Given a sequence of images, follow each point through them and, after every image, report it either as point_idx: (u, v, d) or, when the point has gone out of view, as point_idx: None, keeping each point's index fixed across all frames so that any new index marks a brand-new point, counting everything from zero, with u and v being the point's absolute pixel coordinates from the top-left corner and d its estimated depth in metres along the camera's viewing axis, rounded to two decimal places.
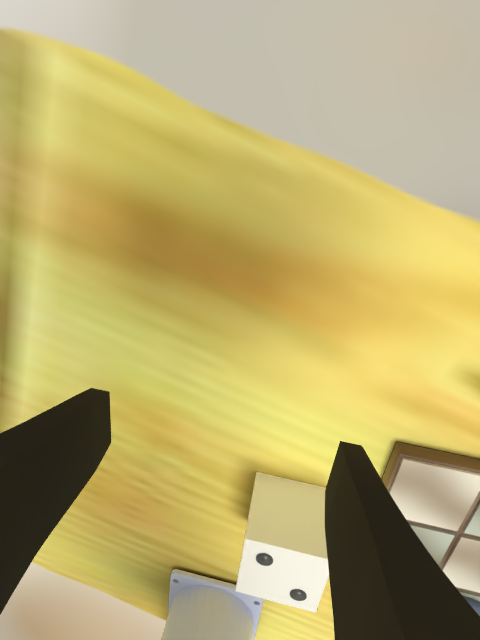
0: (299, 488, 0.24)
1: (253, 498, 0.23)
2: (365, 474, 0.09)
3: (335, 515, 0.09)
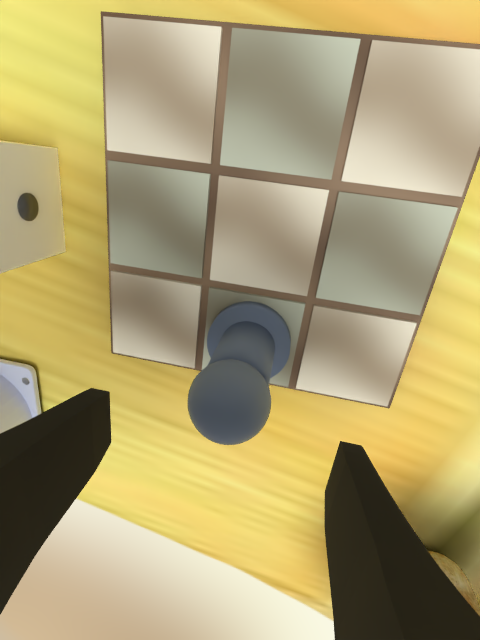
0: None
1: None
2: (365, 474, 0.09)
3: (335, 515, 0.09)
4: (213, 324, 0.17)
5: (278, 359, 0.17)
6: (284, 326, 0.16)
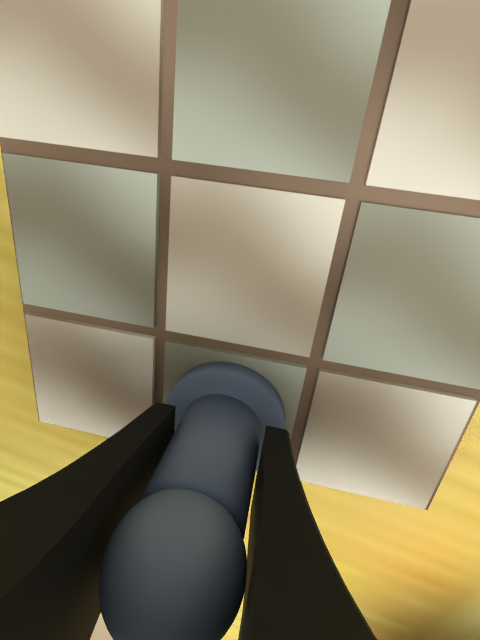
0: None
1: None
2: (278, 455, 0.09)
3: (255, 496, 0.09)
4: (170, 396, 0.11)
5: None
6: (275, 401, 0.11)
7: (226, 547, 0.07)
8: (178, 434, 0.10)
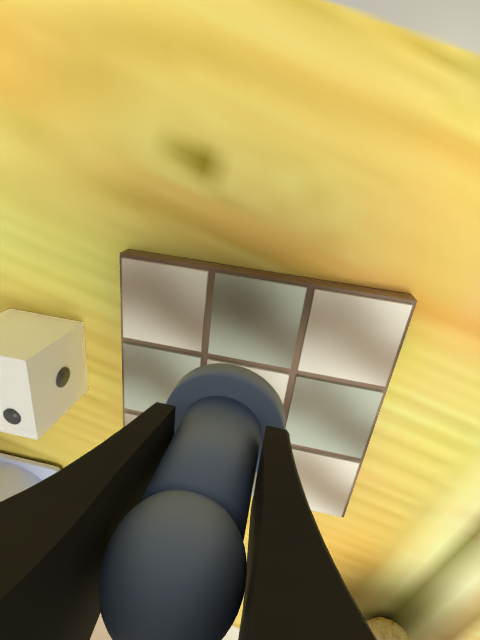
0: (47, 320, 0.21)
1: None
2: (278, 455, 0.09)
3: (255, 496, 0.09)
4: (170, 398, 0.11)
5: None
6: (275, 403, 0.11)
7: (226, 548, 0.07)
8: (178, 435, 0.10)
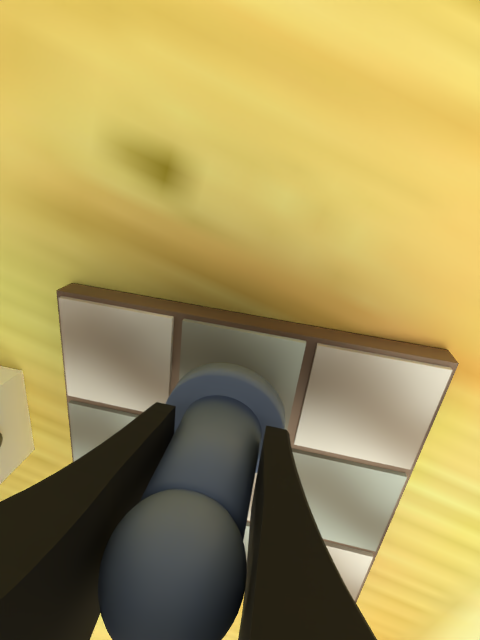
0: None
1: None
2: (278, 455, 0.09)
3: (255, 496, 0.09)
4: (170, 397, 0.11)
5: None
6: (275, 403, 0.11)
7: (226, 548, 0.07)
8: (178, 435, 0.10)
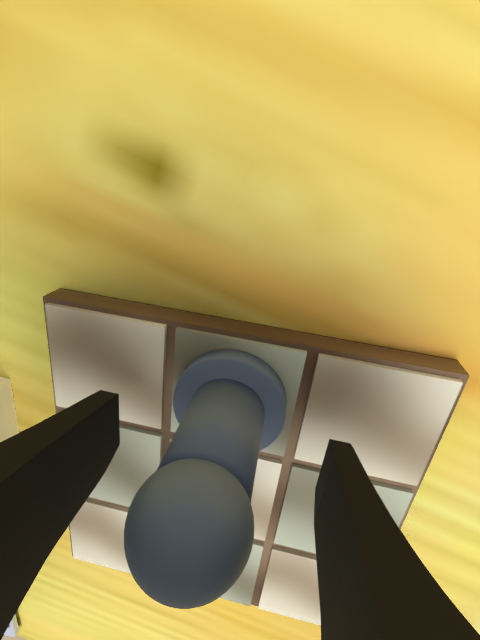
0: None
1: None
2: (352, 471, 0.09)
3: (323, 513, 0.09)
4: (180, 381, 0.12)
5: (269, 428, 0.12)
6: (277, 385, 0.12)
7: (236, 505, 0.08)
8: (189, 414, 0.11)
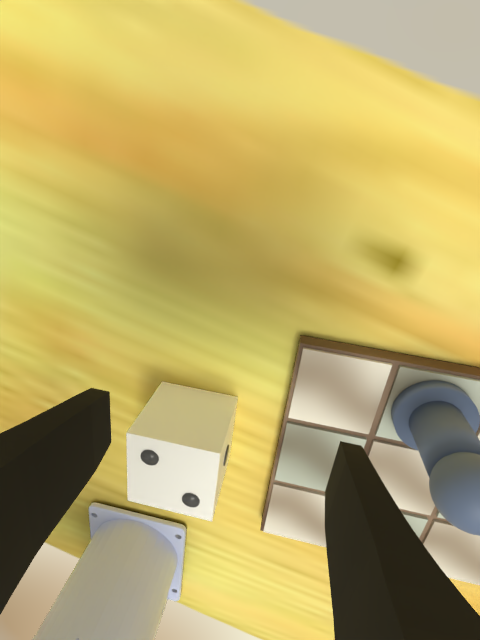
0: (204, 396, 0.22)
1: (149, 401, 0.21)
2: (365, 474, 0.09)
3: (335, 515, 0.09)
4: (405, 402, 0.18)
5: None
6: None
7: None
8: (432, 424, 0.16)
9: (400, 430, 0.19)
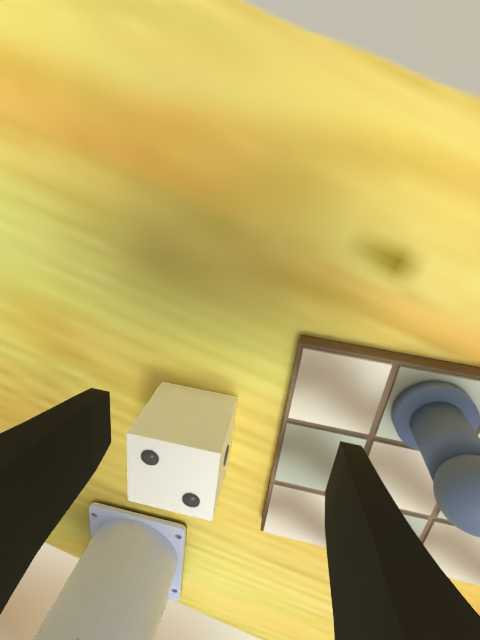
0: (204, 396, 0.22)
1: (149, 401, 0.21)
2: (365, 474, 0.09)
3: (335, 515, 0.09)
4: (405, 404, 0.18)
5: None
6: None
7: None
8: (434, 426, 0.16)
9: (401, 432, 0.19)
